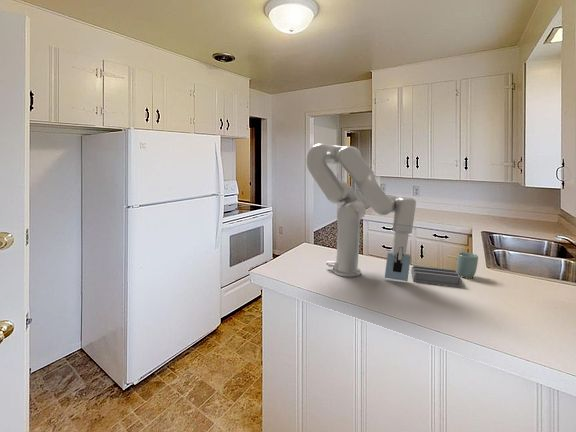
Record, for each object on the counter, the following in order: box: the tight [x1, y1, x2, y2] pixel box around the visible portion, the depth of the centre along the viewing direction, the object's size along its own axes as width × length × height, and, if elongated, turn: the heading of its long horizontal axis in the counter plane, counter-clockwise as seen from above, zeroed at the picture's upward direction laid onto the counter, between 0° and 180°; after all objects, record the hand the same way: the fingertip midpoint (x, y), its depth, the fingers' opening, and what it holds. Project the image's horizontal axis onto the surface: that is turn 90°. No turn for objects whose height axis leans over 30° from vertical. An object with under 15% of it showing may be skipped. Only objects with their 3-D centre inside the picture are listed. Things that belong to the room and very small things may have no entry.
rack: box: [410, 264, 463, 288], centre depth 133 cm, size 18×11×4 cm, turn 74°
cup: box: [456, 251, 479, 279], centre depth 138 cm, size 8×8×10 cm
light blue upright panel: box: [384, 251, 412, 282], centre depth 130 cm, size 9×2×11 cm, turn 74°
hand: (396, 270), depth 130 cm, fingers closed on light blue upright panel, 1 cm apart
